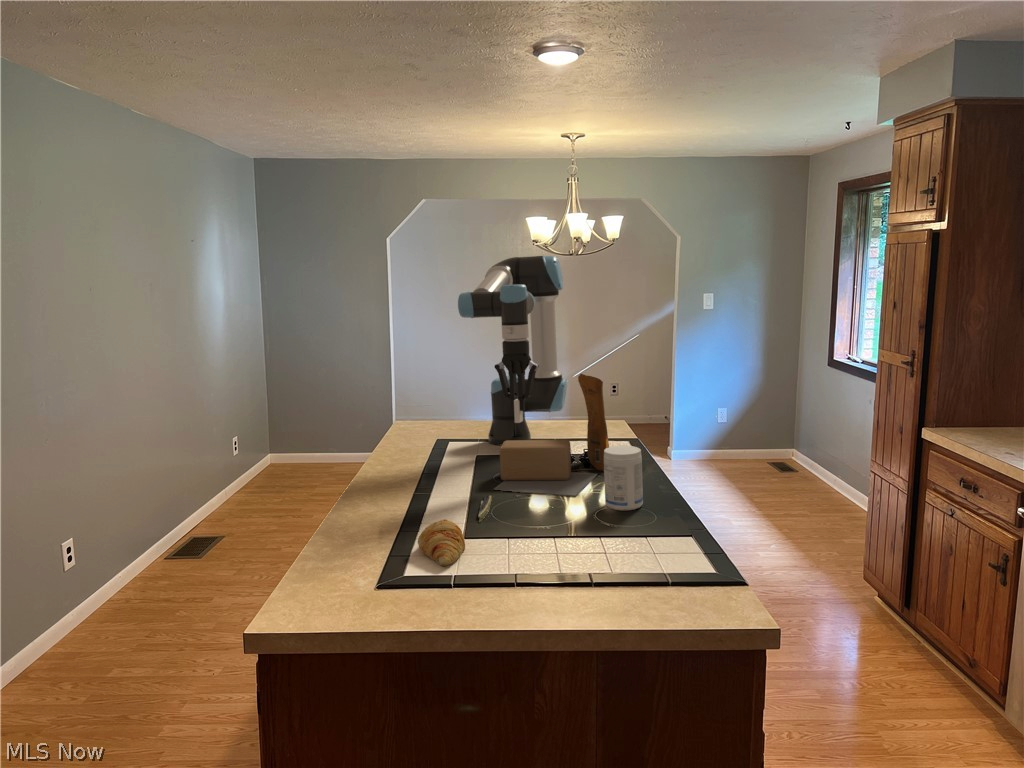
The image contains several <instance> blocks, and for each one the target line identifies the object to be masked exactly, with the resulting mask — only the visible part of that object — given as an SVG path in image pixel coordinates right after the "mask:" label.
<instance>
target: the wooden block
mask: <svg viewBox="0 0 1024 768" xmlns="http://www.w3.org/2000/svg"><path fill="white" fill-rule="evenodd" d="M571 450H572V449H571V442H570V440H569V439H531V440H506V441H504V442H503V444H502V445H500V448H499V467H500V479H501V480H502V481H503V482H504V481H510V480H568V479H569V478H570V473H571V472H572V458H571V456H572V455H571V453H572V452H571Z"/></svg>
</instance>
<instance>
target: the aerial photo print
mask: <svg viewBox="0 0 1024 768" xmlns="http://www.w3.org/2000/svg"><path fill="white" fill-rule="evenodd" d="M525 495H526V494H525ZM492 496H493V495H484V497H483V500H481V502H480V505H479V510H478V518H479V520H478V523H480V522H481V521H482V520H483V519H484V518H485V516H486V515H487V514H488V512H489V510H490V505H491V501H492ZM514 496H517V497H518V496H521V494H520V495H517V494H516V495H514V494H513V497H514ZM526 496H528V497H527V498H529V497H531V496H532V494H531V495H529V494H527V495H526ZM481 523H482V522H481Z"/></svg>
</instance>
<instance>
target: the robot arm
mask: <svg viewBox="0 0 1024 768" xmlns="http://www.w3.org/2000/svg"><path fill="white" fill-rule="evenodd" d="M563 279H564V278H563V272H562V268H561V264H560V261H559V259H558V257H557V256H555V255H536V256H535V255H534V256H533V255H532V256H514V257H509V258H506V259H503V260H500V261H499V262H497V263H495V264H493V265H492V266H491V267H490V268H489V269H488V270H487V271H486V273H485V275H484V279H483V280H482V281H481V282H480V283H479V284H478V285H477V287H476V288H475V289H474V290H473V291H472V292H471V291H467V292H461V293H460V294H459V295H458V298H457V309H458V313H459V315H460V317H461V318H465V319H466V318H470V319H475V318H476V319H477V318H479V319H480V318H500V319H501V338H502V339H503V341H502V342H501V347H502V357H501V361H500V362H499V363H497V364H495V365H494V369H495V371H496V373H498V378H494V379H493V380H492V381H491V384H490V385H491V386H490V388H491V389H490V396H491V398H490V399H491V412H492V413H491V416H492V418H491V419H492V420H491V425H490V428H489V433H488V443H489V444H492V445H496V446H497V445H498V446H502V444H503V442H504V441H506V440H532V437H531V436H532V435H531V432H530V429H529V426H528V423H527V421H526V413H545V412H546V413H554V412H561V411H562V410H563V408H564V406H565V403H566V396H567V387H568V386H567V385H568V383H567V381H568V380H567V379H566V378H565V377H563V373H562V372H561V371H560V370H559V369H558V354H557V353H558V352H557V351H558V349H557V329H556V328H557V327H556V310H555V309H556V305H555V303H556V299H557V298H558V297H559V296H560V294H559V293H560V291H562V290H563V289H564V280H563ZM529 316H530V335H531V337H530V336H529ZM529 337H530V340H531V356H530V341H529V339H528V338H529ZM505 369H506V370H507V371H508V373H506V370H505ZM527 369H529V371H528V373H527V374H528V375H527V378H526V370H527ZM507 374H508V375H507Z"/></svg>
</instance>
